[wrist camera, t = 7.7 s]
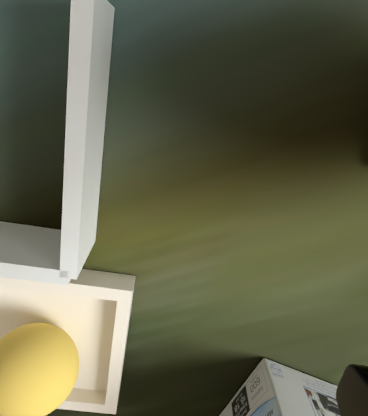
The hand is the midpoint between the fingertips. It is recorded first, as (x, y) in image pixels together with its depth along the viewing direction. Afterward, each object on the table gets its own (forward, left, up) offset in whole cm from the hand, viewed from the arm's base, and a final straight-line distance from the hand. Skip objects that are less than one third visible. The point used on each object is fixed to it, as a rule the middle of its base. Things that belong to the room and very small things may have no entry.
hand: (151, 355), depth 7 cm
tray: (+6, +11, -12) cm, 17 cm away
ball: (+6, +11, -11) cm, 17 cm away
